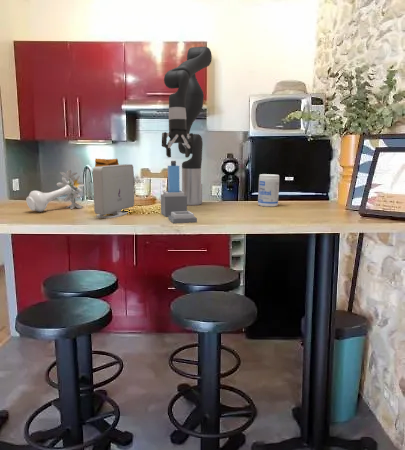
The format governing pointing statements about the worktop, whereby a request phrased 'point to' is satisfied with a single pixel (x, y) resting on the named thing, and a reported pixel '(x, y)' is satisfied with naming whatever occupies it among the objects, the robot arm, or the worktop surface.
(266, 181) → the supplement tub
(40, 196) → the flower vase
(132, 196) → the network device
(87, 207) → the worktop surface
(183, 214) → the plate
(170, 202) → the grey block
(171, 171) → the blue plug
